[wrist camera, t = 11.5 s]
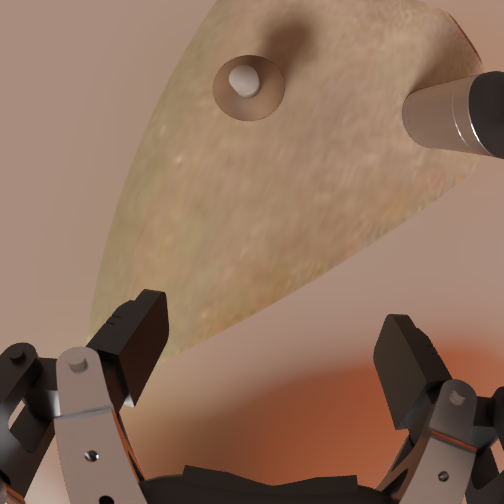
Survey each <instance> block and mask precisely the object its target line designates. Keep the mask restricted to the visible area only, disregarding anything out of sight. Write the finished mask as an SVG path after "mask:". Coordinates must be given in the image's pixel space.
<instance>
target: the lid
mask: <svg viewBox="0 0 504 504" xmlns="http://www.w3.org/2000/svg"><path fill="white" fill-rule="evenodd" d="M284 91H285V84H284V79H283V76H282V74H281V72H280V70H279V69H278V68H277V67H276V65H274V64H273V63H272V62H271V61H269V60H267V59H265V58H263V57H260V56H254V55H245V56H240V57H236V58H234V59H232V60H230V61H228V62H227V63H225V64H224V65H223V66H222V67H221V68H220V69H219V71H218V72H217V74H216V76H215V78H214V82H213V96H214V99H215V101H216V103H217V105H218V106H219V108H220V109H221V110H222V111H223V112H224V113H226V114H227V115H229V116H230V117H232V118H235V119H237V120H241V121H256V120H260V119H263V118H265V117H267V116H269V115H270V114H272V113H273V112H274V111H275V110H276V109H277V108H278V107H279V105H280V104H281V102H282V99H283V96H284Z"/></svg>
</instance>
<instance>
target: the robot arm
mask: <svg viewBox="0 0 504 504" xmlns="http://www.w3.org/2000/svg"><path fill="white" fill-rule="evenodd" d="M402 118H403V122H404V125H405V128H406V130H407V132H408V134H409V135H410V136H411V138H412V139H413V140H414V141H415V142H417V143H418V144H420V145H422V146H424V147H428V148H436V149H444V150H452V151H459V152H466V153H472V154H479V155H485V156H491V157H496V158H501V159H504V72H500V71H493V72H488V73H483V74H479V75H474V76H470V77H466V78H462V79H458V80H454V81H450V82H446V83H442V84H439V85H435V86H431V87H428V88H424V89H421V90H417V91H415V92H413V93H411V94H410V95H409V96H408V97H407V98H406V100H405V102H404V105H403V110H402ZM168 336H169V320H168V309H167V298H166V294H165V292H161V291H155V290H148V289H144V290H143V291H142V292H141V293H140V295H139V296H138V297H137V298H136V299H135V301H133V300H129V301H128V302H126V303H124V304H122V305H121V306H119V307H118V308H117V309H116V310H115V312H114V313H113V314H112V317H111V316H110V318H109V319H108V320H107V321H106V323H104V325H103V326H102V327H101V328H100V329H99V331H98V332H97V333H96V334H95V336H94V337H93V338H92V339H91V340H90V342H89V343H88V344H87V345H86V347H74V348H71V349H68V350H66V351H65V352H63V353H62V354H61V355H60V356H59V358H58V359H52V358H40V357H38V354H37V352H36V350H35V348H34V347H33V346H32V345H31V344H29V343H16V344H14V345H11V346H10V347H8V348H7V349H6V350H5V351H4V352H3V353H2V354H1V355H0V504H26V503H25V500H24V498H25V496H26V493H27V491H28V489H29V487H30V484H31V482H32V480H33V478H34V476H35V474H36V472H37V469H38V467H39V465H40V463H41V461H42V459H43V457H44V455H45V453H46V451H47V449H48V447H49V445H50V443H51V441H52V439H53V437H54V435H56V441H57V447H58V452H59V458H60V463H61V468H62V472H63V476H64V481H65V485H66V489H67V492H68V496H69V499H70V503H71V504H461V502H462V500H463V497H464V494H465V497H466V501H467V504H504V470H503V471H502V472H501V473H500V474H499V472H498V468H497V465H496V463H495V460H494V457H493V454H492V451H491V448H490V447H491V446H492V445H493V444H494V443H495V442H496V441H497V440H498V439H499V440H500V442H501V445H502V448H503V450H504V386H503V387H499V388H498V389H497V390H496V391H495V393H494V394H493V396H492V397H491V398H487V397H480V396H477V395H476V393H475V391H474V390H473V388H472V387H471V386H470V385H469V384H467V383H466V382H463V381H461V380H457V379H452V377H451V375H450V374H449V372H448V370H447V368H446V367H445V364H444V363H443V361H442V359H441V358H440V356H439V355H438V354H437V353H438V352H437V351H436V349H435V347H433V344H432V343H431V341H430V339H429V338H428V336H426V334H424V333H423V332H422V331H421V330H420V329H419V328H416V327H415V325H414V323H413V322H412V320H411V319H410V317H409V316H408V315H399V314H389V315H387V317H386V319H385V321H384V324H383V327H382V330H381V332H380V335H379V338H378V341H377V343H376V346H375V349H374V356H373V359H374V364H375V367H376V370H377V372H378V376H379V379H380V382H381V385H382V388H383V391H384V394H385V397H386V400H387V403H388V407H389V410H390V413H391V416H392V420H393V423H394V427H395V430H401V429H408V431H409V434H408V435H407V436H406V438H405V440H404V442H403V444H402V446H401V448H400V450H399V452H398V453H397V456H396V457H395V459H394V461H393V463H392V465H391V466H390V468H389V470H388V472H387V474H386V475H385V477H384V478H383V480H382V481H381V482H380V483H379V485H378V486H377V487H376V488H375V489H373V488H370V487H366V486H362V485H358V484H357V476H356V475H351V476H339V477H338V476H337V477H316V478H312V479H308V480H303V481H298V482H293V483H288V484H283V485H277V486H270V485H266V484H262V483H259V482H256V481H252V480H249V479H246V478H243V477H240V476H237V475H234V474H231V473H228V472H222V471H215V470H209V469H203V468H198V467H193V466H188V465H185V468H184V471H183V474H175V475H164V476H159V477H155V478H151V479H148V480H147V479H146V477H145V475H144V473H143V471H142V469H141V467H140V465H139V463H138V460H137V458H136V456H135V453H134V451H133V448H132V446H131V443H130V440H129V438H128V435H127V432H126V430H125V427H124V424H123V421H122V418H121V415H120V413H119V411H120V409H121V407H122V405H123V404H124V405H127V406H131V407H135V406H136V403H137V401H138V399H139V397H140V395H141V393H142V391H143V389H144V387H145V385H146V383H147V381H148V379H149V377H150V375H151V373H152V371H153V369H154V367H155V365H156V363H157V361H158V359H159V357H160V355H161V353H162V351H163V349H164V347H165V345H166V343H167V340H168ZM21 400H22V401H23V403H24V404H25V406H24V408H23V409H22V411H21V412H20V414H19V416H18V417H17V419H16V420H15V422H14V423H13V425H12V427H11V428H10V430H9V428H8V420H9V418H10V416H11V414H12V413H13V411H14V410H15V408H16V407H17V405H18V404H19V402H20V401H21Z"/></svg>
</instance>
